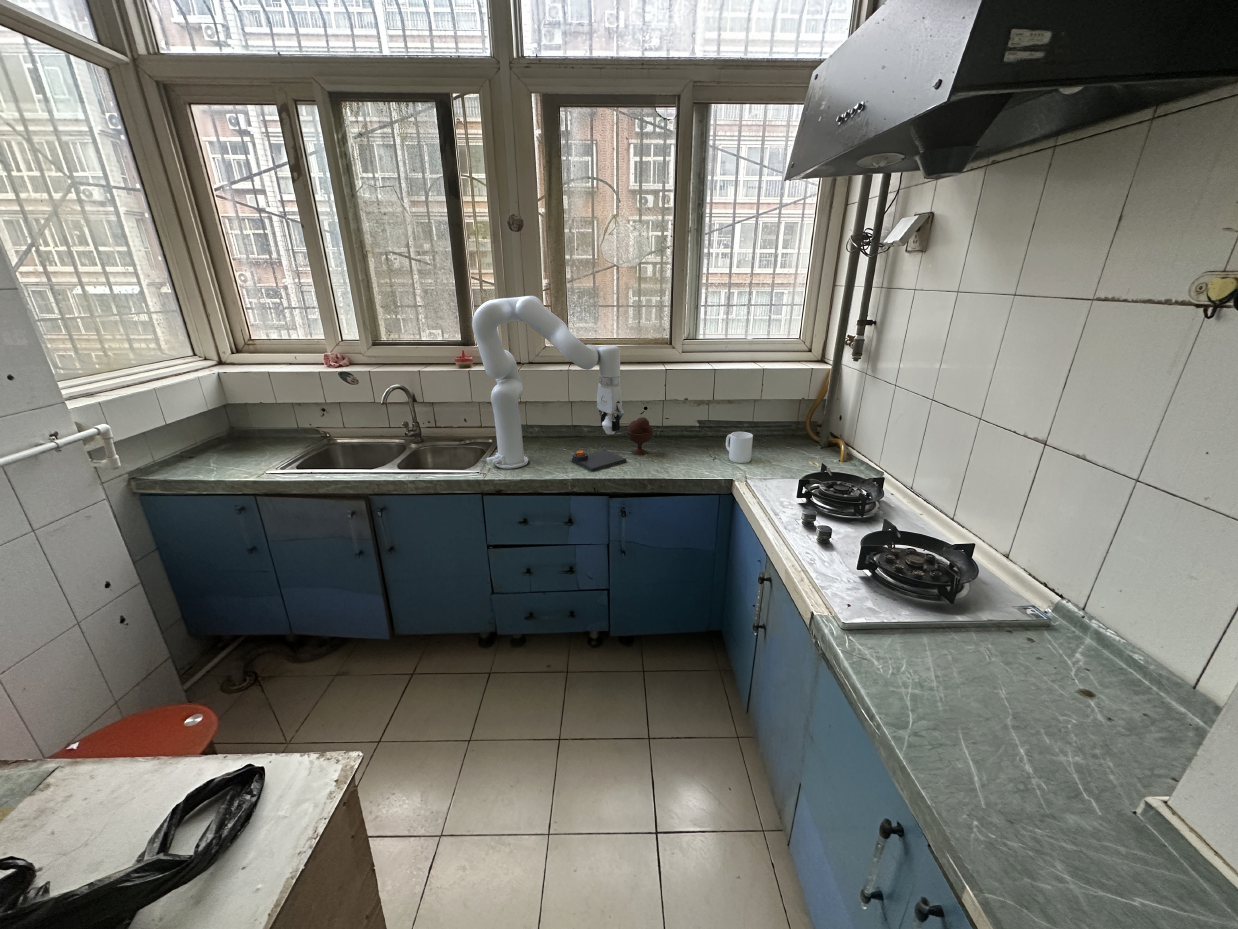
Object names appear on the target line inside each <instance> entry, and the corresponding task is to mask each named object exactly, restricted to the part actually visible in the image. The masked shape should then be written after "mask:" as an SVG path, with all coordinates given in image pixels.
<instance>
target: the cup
mask: <svg viewBox="0 0 1238 929" xmlns="http://www.w3.org/2000/svg"><path fill="white" fill-rule="evenodd" d="M753 438H754V435H753V434H752V433H750V432H746V431H733V432H730V433H729V434H727V436H726V438H725V448H726V450H727V451H728V460H729V461H730V462H731V463H732V462H733V463H736V464H747V463H749V462H750V461H751V460H752V449H753Z"/></svg>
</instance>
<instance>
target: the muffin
mask: <svg viewBox="0 0 1238 929" xmlns="http://www.w3.org/2000/svg"><path fill="white" fill-rule="evenodd" d="M612 421H613V418H612V414H610V415H609V414H608V416H606V418H605V420H604V421H603V423H602V426H603V427H602V429H603V431H604V433H605V434H606V435H614V434H616V431H612Z"/></svg>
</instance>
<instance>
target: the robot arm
mask: <svg viewBox="0 0 1238 929" xmlns="http://www.w3.org/2000/svg"><path fill="white" fill-rule="evenodd" d="M517 322H518V323H519V322H523V323H524V324H525V325H527V326H528V327H530V328H531V329H532V330H533V331H535V332H536V333H537V334H539V335H540V336H542V337H543V338H544V339H545V340H547V341H548V342H549V343H550V344H551V345H552V346H553V347H554V348H555V349H556V350H557V351H558V352H559V353H560V354H562V356H564V357H565V358H566V359H567V360H569V361H570V362H571V363H573V364H574V365H576V366H577V367H578V368H579V369H582V370H586V371H588V370H592V369H594V368H595V367H596V366H597V365H598V371H599V372H598V377H599V379H598V381H599V382H598V386H597V392H596V408H597V410H598V412H599V416H600V427H601V428H603V426H602V423H603V421H604V420H605V418H606V416H609V414H610V415H611V416H612V418H613V421H612V431H615V432H617V431H620V429H621V427H620V426H621V424H620V422H621V419H622V418H623V416H624V414H625V411H624V408H623V398H622V397H623V395H622V387H621V348H620V347H619V346H617V345H612V344H611V345H595V344H585V343H584V342H582V341H581V340H579V338H577V336H575V335H574V334H573V332H571V330H570V329H569V327H568V326H567V324H566V323H565V322H564V321H563V319H561V318H560V317H559V316H558V315H555V314H554V313H553V312H552V311H550V310H549V308H547V307H545V306H544V304H543V301H542V300H541V299H540V298H539V297H537V296H535V295H526V296H525V295H524V296H518V297H503V298H496V299H490V300H487V301H484V302H483V303H482V304H480V306H479V307H478V308H477V309H476V311H475V312H474V314H473V317H472V320H471V326H472V333H473V335H474V339H475V343H476V345H477V348H478V352H479V356H480V359H481V362H482V365H483V368H484V372H485V373H486V375H487V376H488V377H489V378H490V379H492V380H495V382H496V384H495V386H494V387H493V388H492V389H491V390H492V391H491V393H490V403H491V407H492V411H493V416H494V426H495V435H496V436H495V437H496V445H497V446H496V447H497V452H495V455H493V456H490V457H486V459H485V461H486V463H487V464H491V463H492V464H494V465H495V466H496V467H497V468H499V469H508V470H510V469H511V470H512V469H518V468H521V467H525V466H526V465H527V464H529V457H527V456H526V455H525V454H524V444H523V443H524V441H523V428H522V419H521V412H520V406H519V401H520V399H521V398H522V396H523V394H524V385H523V381H522V378H521V375H520V374H521V373H520V371H519V368H518V364H517V361H516V359H515V357H514V355H513V354H512V353H511V352H510V351H509V350H507V349H505V348H504V345H503V342H502V339H501V336H500V334H499V331H498V327H499V326H500V325H503V324H506V323H507V324H508V323H517Z"/></svg>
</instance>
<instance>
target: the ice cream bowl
mask: <svg viewBox="0 0 1238 929" xmlns="http://www.w3.org/2000/svg"><path fill="white" fill-rule="evenodd" d="M653 435H654V428H652V426H651V425H650V421H649V419H647V418H646V417H644V416H642V417H641V416H640V417H638V418H637V419H636V420H633V421H631V422H630V423H629V424H628V427H627V428H626V436H627V438H628V439H629V440H630V441H631V442H633V443H634V444H637V448H636V449H634V450H633V451H632V454H634V455H638V456H641V455H645V454H647V450H645V449H643V444H646V443H647V442H649V441H650V440H651V439H652V437H653Z"/></svg>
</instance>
